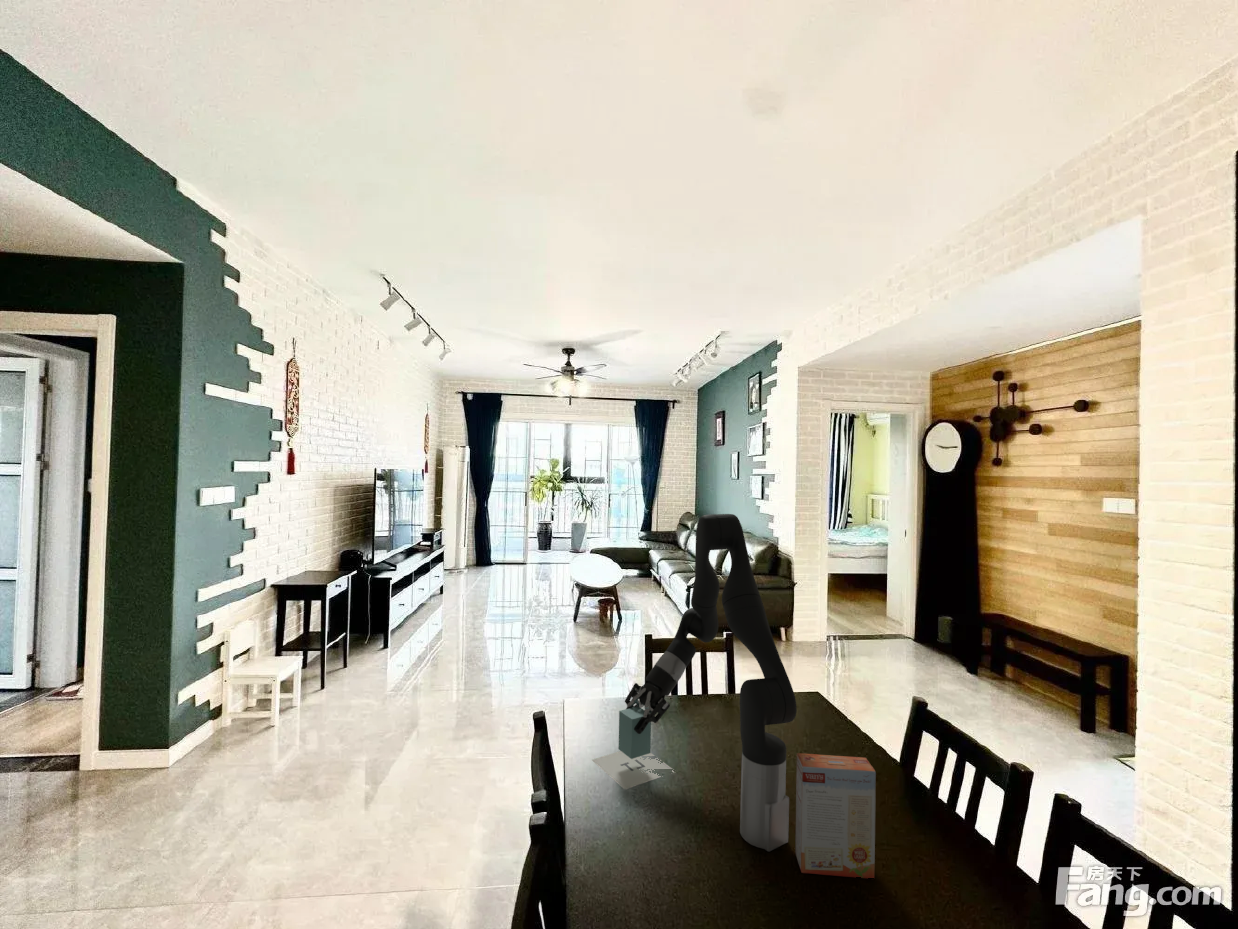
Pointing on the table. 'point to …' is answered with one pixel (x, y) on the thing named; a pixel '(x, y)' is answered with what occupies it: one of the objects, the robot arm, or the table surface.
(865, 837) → the cracker box
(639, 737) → the teal block
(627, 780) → the card
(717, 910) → the table surface
